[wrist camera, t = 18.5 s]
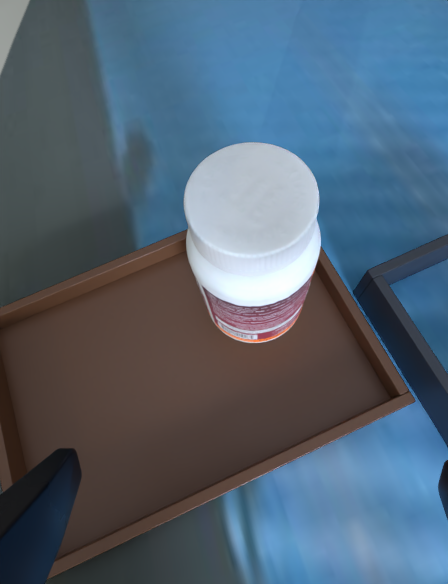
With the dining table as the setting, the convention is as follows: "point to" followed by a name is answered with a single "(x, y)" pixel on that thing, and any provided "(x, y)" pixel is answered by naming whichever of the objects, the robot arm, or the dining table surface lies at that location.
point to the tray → (175, 391)
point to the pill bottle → (252, 238)
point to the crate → (408, 327)
